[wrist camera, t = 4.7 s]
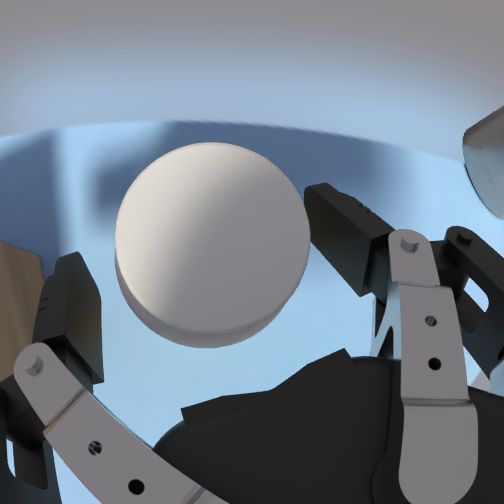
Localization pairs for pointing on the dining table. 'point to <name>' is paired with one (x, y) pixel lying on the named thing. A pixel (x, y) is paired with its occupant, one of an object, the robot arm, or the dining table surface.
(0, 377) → the walnut block
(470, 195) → the dining table surface
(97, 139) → the dining table surface
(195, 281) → the supplement bottle
